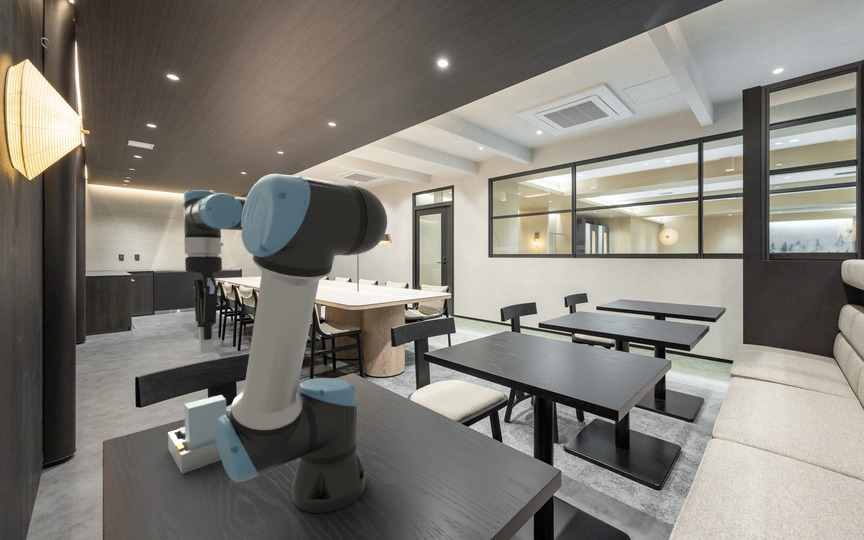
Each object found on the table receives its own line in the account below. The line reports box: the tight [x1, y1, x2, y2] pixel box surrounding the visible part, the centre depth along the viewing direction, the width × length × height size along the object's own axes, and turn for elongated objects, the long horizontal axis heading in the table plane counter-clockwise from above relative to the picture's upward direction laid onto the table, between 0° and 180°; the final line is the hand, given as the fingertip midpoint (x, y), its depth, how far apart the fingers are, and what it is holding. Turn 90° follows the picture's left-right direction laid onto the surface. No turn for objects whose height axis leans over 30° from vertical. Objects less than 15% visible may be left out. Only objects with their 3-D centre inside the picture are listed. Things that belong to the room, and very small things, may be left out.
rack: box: [167, 426, 221, 475], centre depth 93 cm, size 15×12×6 cm
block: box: [183, 394, 227, 451], centre depth 90 cm, size 4×8×12 cm, turn 135°
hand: (206, 352), depth 89 cm, fingers closed
